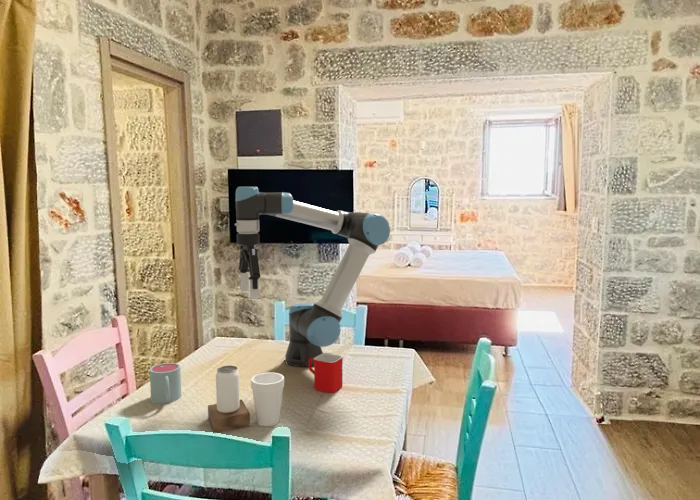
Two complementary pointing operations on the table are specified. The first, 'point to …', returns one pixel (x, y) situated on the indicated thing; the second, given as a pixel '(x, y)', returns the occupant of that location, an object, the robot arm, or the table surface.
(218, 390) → the can
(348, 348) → the table surface
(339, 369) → the mug
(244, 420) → the walnut block
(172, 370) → the mug
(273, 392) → the foam cup
